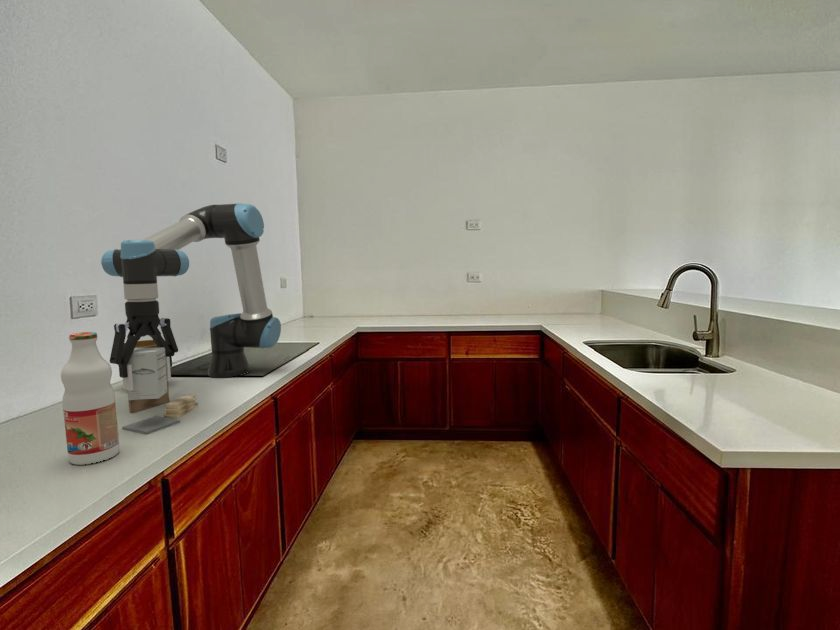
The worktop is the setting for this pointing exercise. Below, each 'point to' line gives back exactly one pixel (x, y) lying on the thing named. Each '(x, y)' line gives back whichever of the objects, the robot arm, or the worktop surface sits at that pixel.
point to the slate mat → (151, 424)
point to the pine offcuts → (180, 406)
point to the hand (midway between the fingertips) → (148, 384)
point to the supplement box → (148, 373)
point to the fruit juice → (89, 403)
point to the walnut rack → (147, 402)
